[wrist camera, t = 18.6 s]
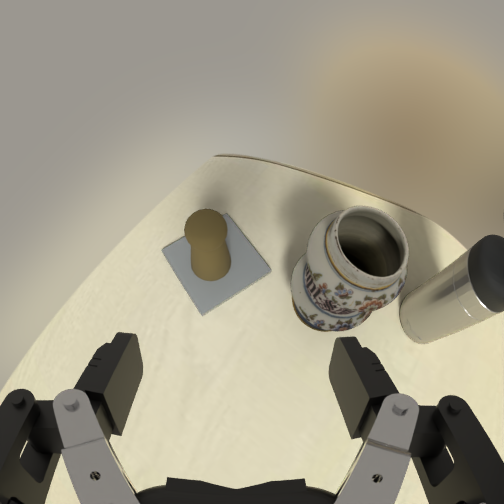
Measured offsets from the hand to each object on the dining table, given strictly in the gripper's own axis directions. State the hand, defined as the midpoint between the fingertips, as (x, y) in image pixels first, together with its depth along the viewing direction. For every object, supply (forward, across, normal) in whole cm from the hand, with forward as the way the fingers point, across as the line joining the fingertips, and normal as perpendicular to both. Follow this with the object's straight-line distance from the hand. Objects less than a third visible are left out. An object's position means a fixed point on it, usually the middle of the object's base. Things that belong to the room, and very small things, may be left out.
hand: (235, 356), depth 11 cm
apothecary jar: (+28, -13, +12) cm, 34 cm away
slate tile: (+32, +3, +8) cm, 34 cm away
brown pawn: (+32, +4, +8) cm, 33 cm away
